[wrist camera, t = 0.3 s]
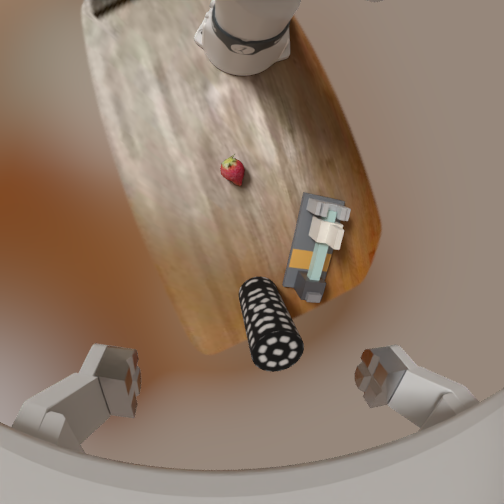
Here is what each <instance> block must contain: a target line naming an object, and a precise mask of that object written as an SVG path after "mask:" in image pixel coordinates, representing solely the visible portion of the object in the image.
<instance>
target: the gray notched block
mask: <svg viewBox="0 0 504 504" xmlns="http://www.w3.org/2000/svg"><path fill="white" fill-rule="evenodd" d="M306 210H308V211H310V212H311V213H313V214H315V215H320V216H323V217H326V216H327V212H328V210H333V211H336V212H337V214H336V218H337V219H339V220H343V221H348V219H349V215H350V211H351V209H349V208H347V207H345V206H342V205H340V204H335V203H331V202H326V201H322V200H317V199H312V198H309V200H308V204H307V209H306Z"/></svg>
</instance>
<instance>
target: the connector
mask: <svg viewBox="0 0 504 504" xmlns="http://www.w3.org/2000/svg"><path fill="white" fill-rule="evenodd" d="M307 274H308V271H299V270H298V273H297V277H296V280H295V284H294V289H295V290H296V292H297V294H298V295H299V297H300V299H301V300H306V301H307V302H316V303H320V301H321V299H322V296H323V293H324V289H325V286H326V282H325V281H324V280H323V279H322V278H321V277H320V280H319V281H318V280H310V279H309V278H308V276H307Z"/></svg>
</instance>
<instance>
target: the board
mask: <svg viewBox="0 0 504 504" xmlns="http://www.w3.org/2000/svg"><path fill="white" fill-rule="evenodd" d="M309 198H312V199H317V200H322V201H326V202H331V203H335V204H340V205H342V206H344V204H345V202H344V201H341V200H337V199H332V198H328V197H323V196H319V195H314V194H309V193H305V192H303V197H302V201H301V206H300V211H299V215H298V220H297V224H296V229H295V233H294V238H293V242H292V246H291V251H290V255H289V259H288V263H287V268H286V272H285V276H284V280H283V284H282V285H283V286H284V287H294V284H295V280H296V277H297V273H298V270H299V271H308V270H309V266H310V262H311V259H312V255H313V251H314V247H315V243H316V241H315V240H313V239H312V238H311V237H310V236H309V231H310V227H311V222H312V218H313V216H317V217H322V216H320V215H315V214H313V213H311V212H310V211H308V210H306V209H307V204H308V200H309ZM335 221H337V222H339V223H340V221H341V220H339V219H337V218H336V219H335ZM332 252H333V248H331V247H330V246H329V247H328V250H327V254H326V258H325V262H324V265H323V269H322V273H321V276H320V277H321V278H322V279H323V280H325V277H326V274H327V270H328V266H329V263H330V259H331V256H332Z"/></svg>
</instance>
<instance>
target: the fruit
mask: <svg viewBox="0 0 504 504" xmlns="http://www.w3.org/2000/svg"><path fill="white" fill-rule="evenodd" d="M234 155H235V154H234ZM234 155H233V156H234ZM233 156H231V157H229V158H228V159H226V160H225V161H223V162H222V164H221V174H222V176H223V177H224V178H226V179H227V180H229V181H232V182H233V183H234V184H236V185H238V186H241V185H242V179H243V177H244V172H245V169H244V166H243V164H242V163H241V162H240V161H239V160H237V159H235V158H234V159H233Z"/></svg>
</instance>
